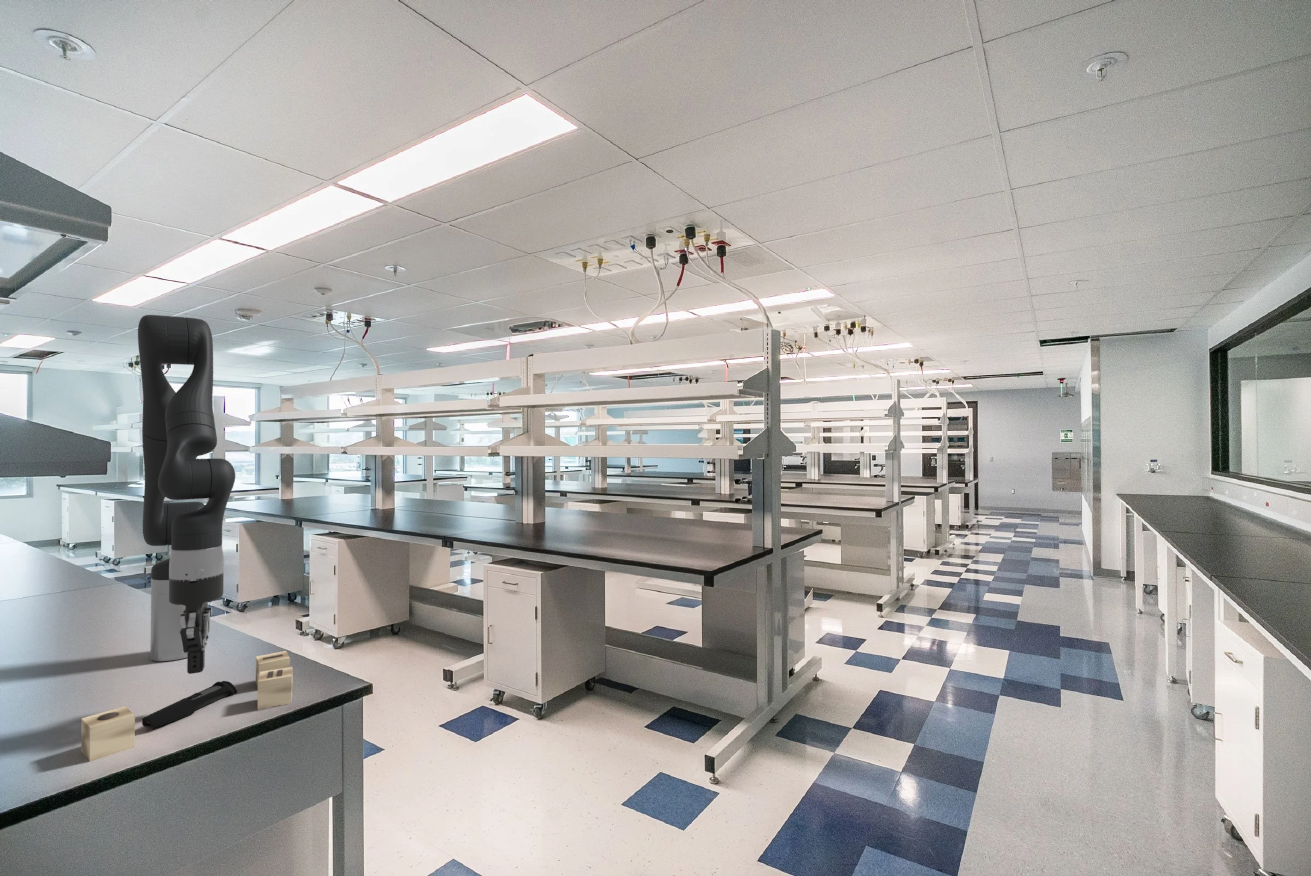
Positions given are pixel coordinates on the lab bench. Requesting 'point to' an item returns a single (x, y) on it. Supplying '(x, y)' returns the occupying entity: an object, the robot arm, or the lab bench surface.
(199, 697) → the electric trimmer
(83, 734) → the maple block
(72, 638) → the lab bench surface
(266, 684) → the maple block
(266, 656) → the maple block
